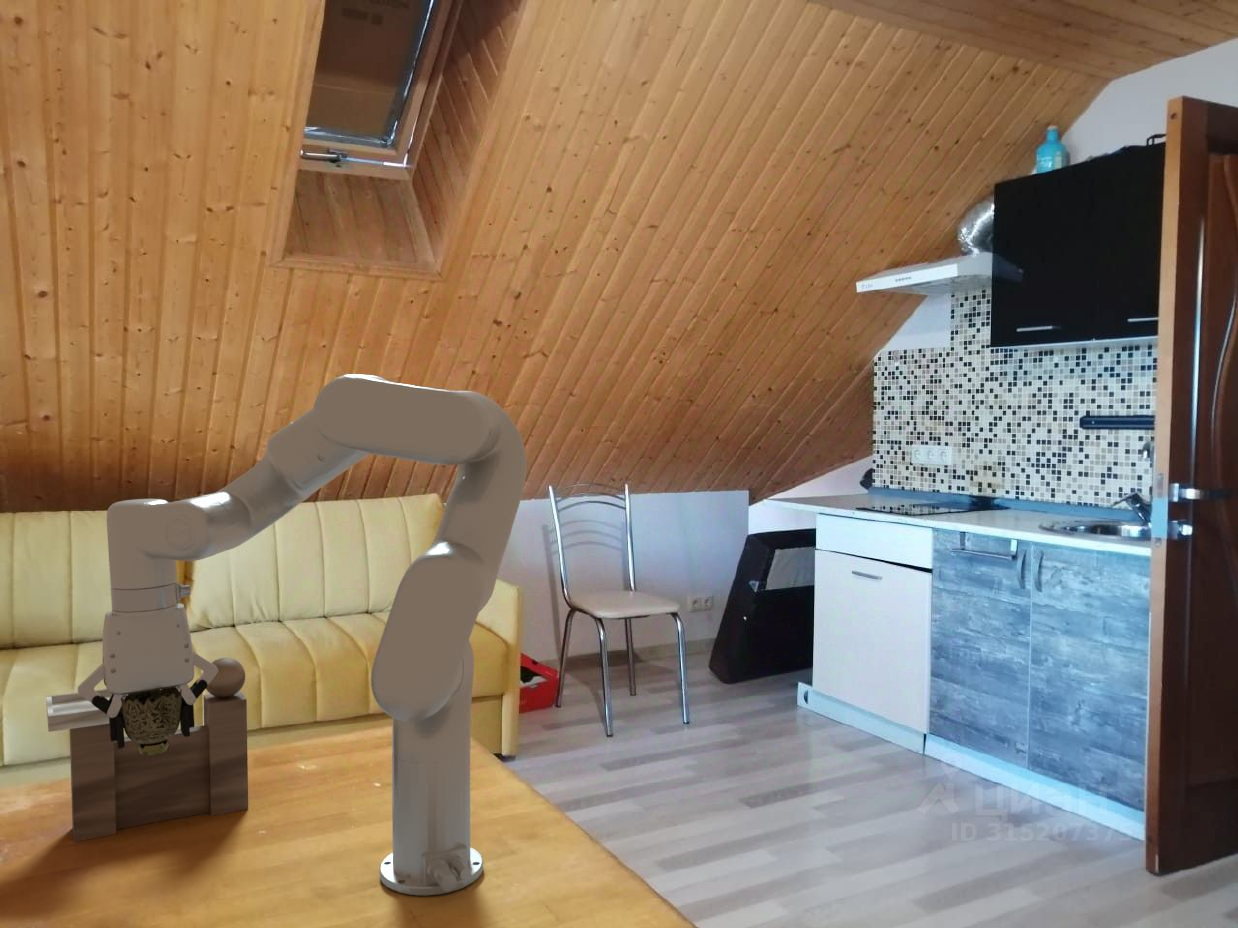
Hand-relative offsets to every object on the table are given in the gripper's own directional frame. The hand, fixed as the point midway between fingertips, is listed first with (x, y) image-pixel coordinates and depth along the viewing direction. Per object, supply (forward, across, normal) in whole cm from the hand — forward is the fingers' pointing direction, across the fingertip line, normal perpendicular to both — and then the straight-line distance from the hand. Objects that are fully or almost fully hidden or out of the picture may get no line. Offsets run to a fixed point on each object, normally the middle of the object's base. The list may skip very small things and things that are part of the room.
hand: (153, 738), depth 128 cm
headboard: (+16, -1, -15) cm, 22 cm away
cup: (+2, 0, 0) cm, 2 cm away
